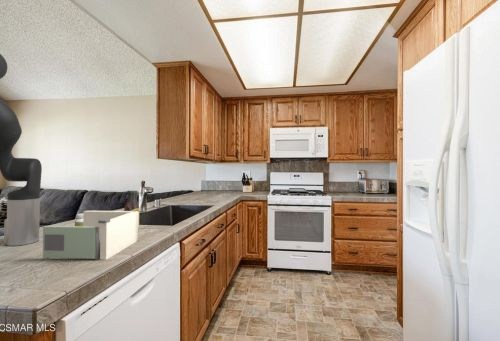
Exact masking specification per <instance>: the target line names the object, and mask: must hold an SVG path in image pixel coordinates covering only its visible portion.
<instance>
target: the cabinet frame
mask: <svg viewBox="0 0 500 341" xmlns="http://www.w3.org/2000/svg"><path fill="white" fill-rule="evenodd" d="M83 227H99V242H100V243H99V260H103V261H105V260H106V261H107V260H109V259H110V258H111V257H113V256H115V255H117V254H118V253H120V252H122V251H123V250H124V249H127V248H128V247H130V246H131V245H132V244H135V243H137V242H138V241H139V231H138V211H124V210H84V211H83Z"/></svg>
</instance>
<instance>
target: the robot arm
mask: <svg viewBox="0 0 500 341" xmlns="http://www.w3.org/2000/svg"><path fill="white" fill-rule="evenodd" d="M7 72H8V62H7V61H6V59H5V57H4V56H3V55H2V54H1V53H0V80H1V79H3V78H4V77H5V75H6V74H7ZM22 132H23V130H22V127H21V124H20V121H19V119H18V116H17V114H16V113H15V111H14V110H13V109H12V108H11V107H10V105H8V103H7V102H6V101H5V100H4V99H3V98H2V97H0V174H1V176H2V178H4V179H5V180H6V181H7V182H17V183H19V182H26V184H25V185H24V186H23V187H20V188H19V189H15V190H12V191H11V190H10V191H9V192H7V195H6V196H7V198H6V219H4V222H3V223H4V225H3V226H4V227H3V228H4V229H3V230H4V231H3V234H4V236H3V244H4V245H7V246H11V247H13V246H23V245H24V246H26V245H30V244H34V243H37V242H38V241H40V212H41V211H40V208H41V207H40V206H41V205H40V203H41V202H40V201H41V200H40V198H41V184H42V183H41V182H42V173H43V172H42V170H43V168H42V163H41V160H39V159H37V158H34V157H33V158H28V157H14V156H13V155H14V154H13V153H12V152H13V148H14V147H15V145H16V144H17V143H18V141H19V140H20V138H21V135H22V134H23V133H22ZM0 218H1V215H0Z"/></svg>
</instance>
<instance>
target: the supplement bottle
mask: <svg viewBox="0 0 500 341" xmlns="http://www.w3.org/2000/svg"><path fill="white" fill-rule="evenodd" d="M74 226H77V227H83V213H77V214H76V219H75V220H74Z"/></svg>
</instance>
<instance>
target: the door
mask: <svg viewBox="0 0 500 341" xmlns="http://www.w3.org/2000/svg"><path fill="white" fill-rule="evenodd" d="M99 242H100V241H99V227H77V226H75V225H73V226H65V225H64V226H63V225H59V226H58V225H45V226H42V258H43V259H47V258H48V259H93V260H95V259H99V257H100V243H99Z"/></svg>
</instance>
